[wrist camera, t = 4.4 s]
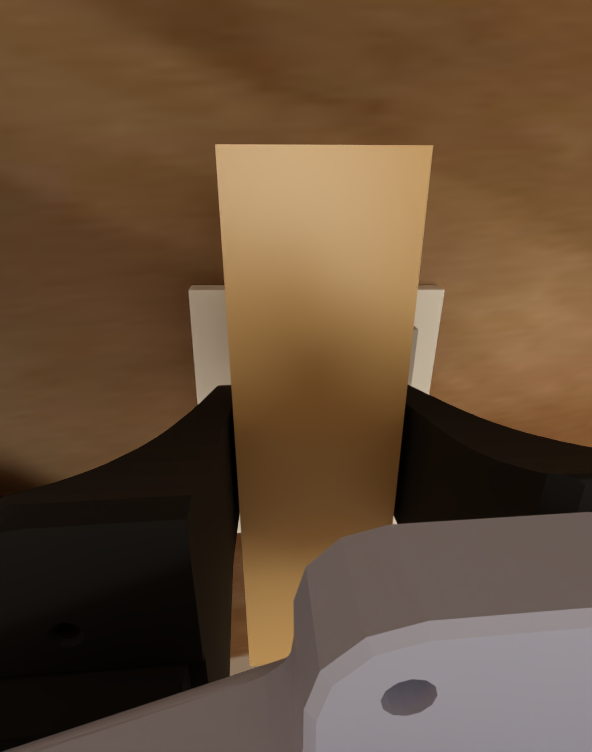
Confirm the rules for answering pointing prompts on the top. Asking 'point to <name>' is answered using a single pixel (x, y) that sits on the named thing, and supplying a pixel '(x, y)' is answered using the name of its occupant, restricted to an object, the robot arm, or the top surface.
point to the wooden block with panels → (316, 351)
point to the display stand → (215, 347)
